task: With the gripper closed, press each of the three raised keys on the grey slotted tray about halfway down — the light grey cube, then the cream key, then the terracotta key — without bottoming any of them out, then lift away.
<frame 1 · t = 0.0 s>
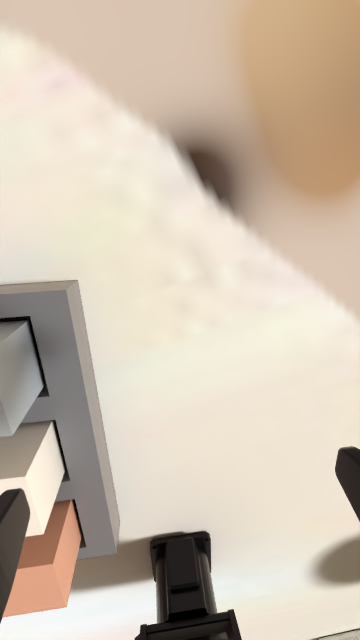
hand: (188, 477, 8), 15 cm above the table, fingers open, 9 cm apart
cream key: (11, 477, 19), point 5 cm above the table, slide at 0.0 cm
terracotta key: (36, 552, 22), point 5 cm above the table, slide at 0.0 cm
grey slotted tray: (37, 428, 24), on the table
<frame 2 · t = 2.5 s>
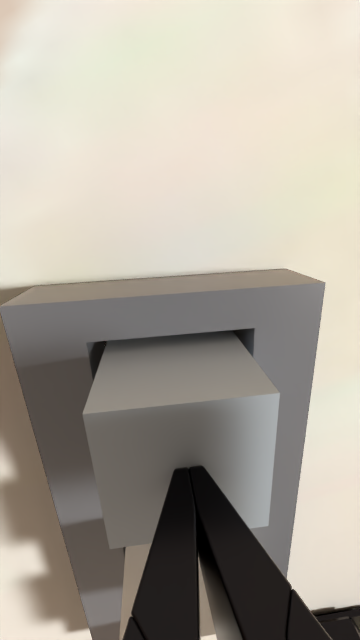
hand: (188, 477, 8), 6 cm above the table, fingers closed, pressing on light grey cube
cream key: (190, 587, 12), point 5 cm above the table, slide at 0.0 cm
light grey cube: (178, 418, 10), point 4 cm above the table, slide at 1.0 cm, touching gripper
grey slotted tray: (179, 487, 16), on the table
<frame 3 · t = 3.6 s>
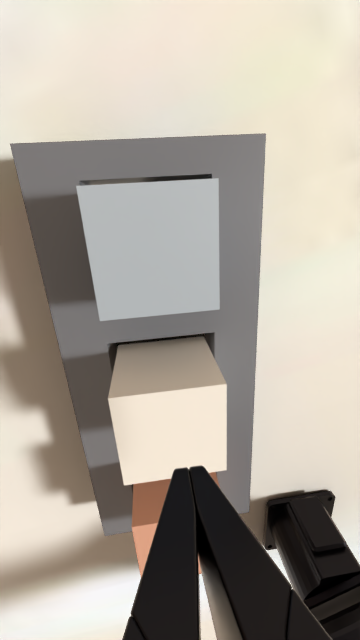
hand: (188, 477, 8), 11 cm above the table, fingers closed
cream key: (168, 402, 15), point 5 cm above the table, slide at 0.0 cm
light grey cube: (153, 246, 13), point 4 cm above the table, slide at 1.1 cm
terracotta key: (177, 505, 18), point 5 cm above the table, slide at 0.0 cm
grey slotted tray: (162, 359, 19), on the table
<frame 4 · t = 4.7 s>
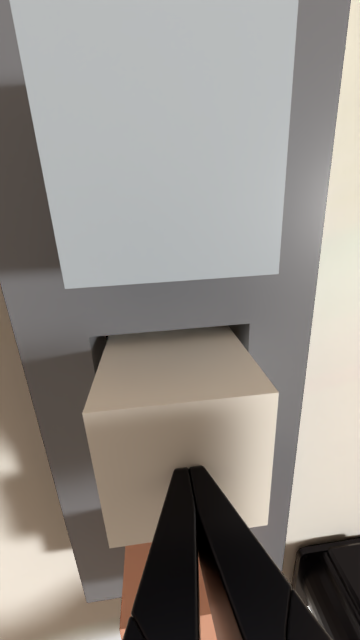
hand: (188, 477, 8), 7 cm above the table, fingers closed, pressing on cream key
cream key: (178, 418, 10), point 4 cm above the table, slide at 0.6 cm, touching gripper
light grey cube: (162, 177, 8), point 4 cm above the table, slide at 1.1 cm
terracotta key: (188, 574, 12), point 5 cm above the table, slide at 0.0 cm
grey slotted tray: (170, 363, 14), on the table
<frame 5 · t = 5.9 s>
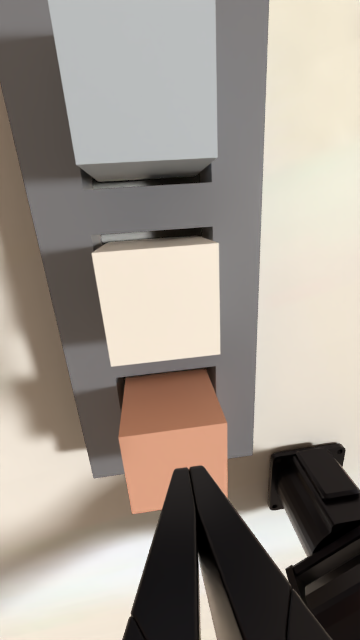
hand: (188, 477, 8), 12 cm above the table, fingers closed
cream key: (159, 293, 14), point 4 cm above the table, slide at 1.1 cm
light grey cube: (141, 102, 11), point 4 cm above the table, slide at 1.1 cm
terracotta key: (172, 433, 16), point 5 cm above the table, slide at 0.0 cm
grey slotted tray: (156, 278, 18), on the table
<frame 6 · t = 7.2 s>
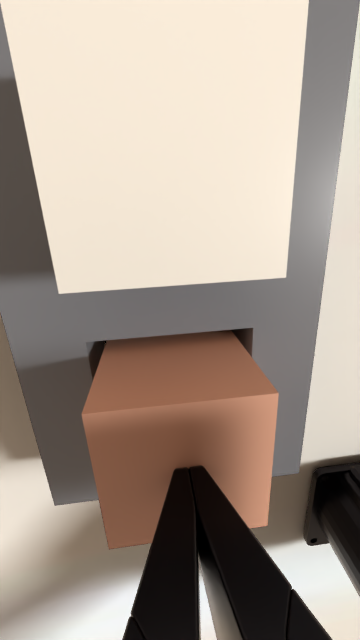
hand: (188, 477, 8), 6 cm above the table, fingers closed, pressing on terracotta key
cream key: (162, 175, 8), point 4 cm above the table, slide at 1.1 cm
terracotta key: (178, 418, 10), point 4 cm above the table, slide at 1.0 cm, touching gripper
grey slotted tray: (158, 189, 11), on the table
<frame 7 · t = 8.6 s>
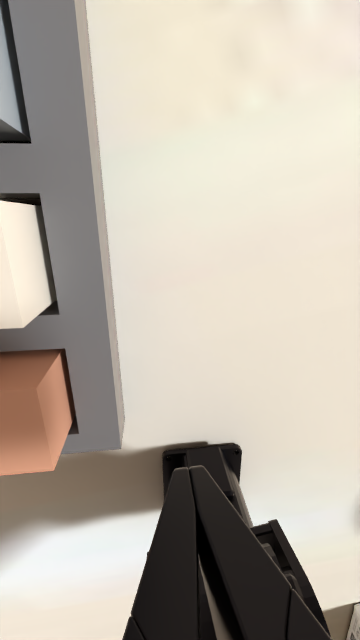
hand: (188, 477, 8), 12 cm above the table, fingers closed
terracotta key: (15, 404, 16), point 4 cm above the table, slide at 1.1 cm
grey slotted tray: (14, 253, 17), on the table
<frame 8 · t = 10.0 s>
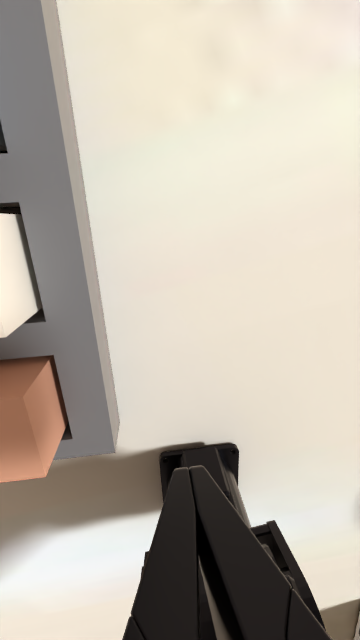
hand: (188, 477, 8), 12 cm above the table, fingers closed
terracotta key: (6, 412, 16), point 4 cm above the table, slide at 1.1 cm
grey slotted tray: (0, 261, 17), on the table
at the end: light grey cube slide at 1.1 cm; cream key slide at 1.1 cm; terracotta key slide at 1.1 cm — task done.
